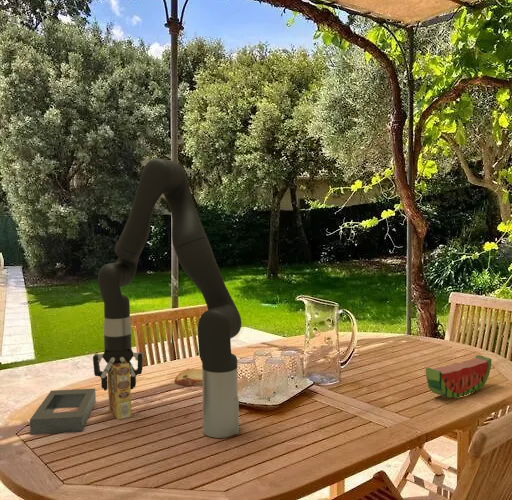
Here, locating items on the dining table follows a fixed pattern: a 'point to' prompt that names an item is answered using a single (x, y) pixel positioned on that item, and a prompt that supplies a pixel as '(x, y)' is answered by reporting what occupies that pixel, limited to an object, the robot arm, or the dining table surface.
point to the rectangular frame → (63, 421)
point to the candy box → (119, 390)
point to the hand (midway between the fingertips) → (119, 388)
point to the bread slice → (190, 378)
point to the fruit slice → (459, 377)
